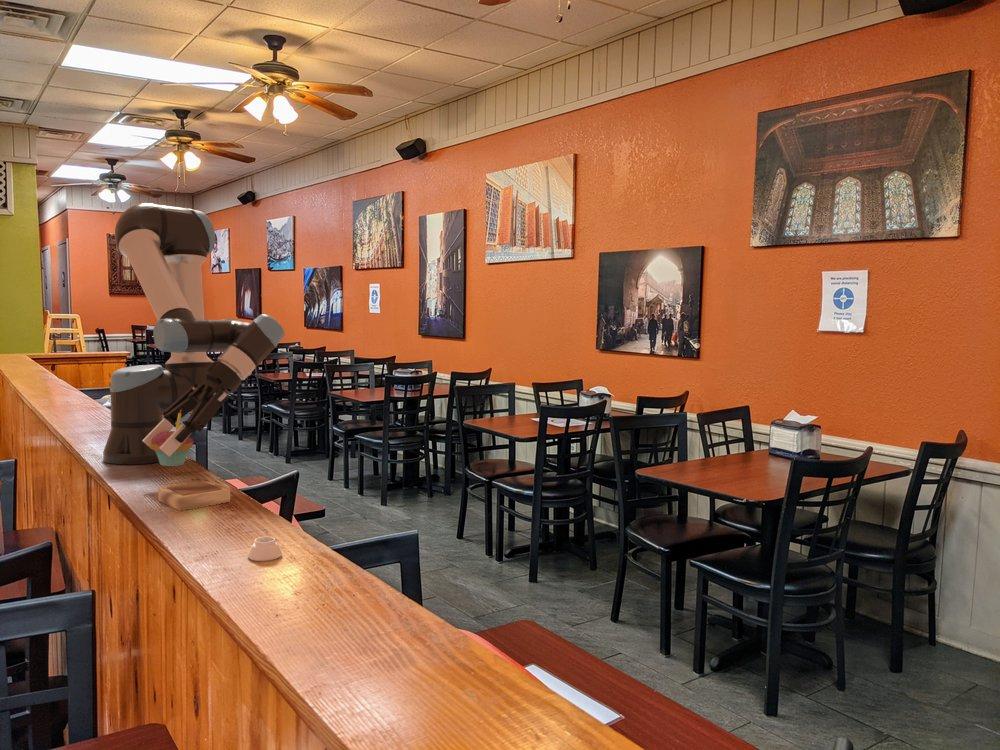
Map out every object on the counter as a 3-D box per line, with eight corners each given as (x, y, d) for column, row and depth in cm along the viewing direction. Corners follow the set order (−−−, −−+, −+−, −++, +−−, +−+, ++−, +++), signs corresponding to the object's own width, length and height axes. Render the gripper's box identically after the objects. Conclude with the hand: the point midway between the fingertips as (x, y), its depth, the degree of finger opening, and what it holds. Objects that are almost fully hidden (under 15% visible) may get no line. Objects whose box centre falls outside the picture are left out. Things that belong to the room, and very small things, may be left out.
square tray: (158, 500, 144) (158, 487, 144) (207, 492, 151) (207, 480, 151) (179, 510, 137) (179, 496, 137) (230, 502, 144) (230, 488, 144)
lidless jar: (254, 552, 116) (243, 562, 111) (254, 534, 116) (243, 543, 111) (285, 553, 116) (275, 563, 111) (285, 535, 116) (275, 545, 111)
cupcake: (200, 461, 160) (201, 407, 159) (179, 469, 151) (180, 413, 150) (163, 458, 161) (164, 404, 159) (140, 466, 152) (141, 410, 151)
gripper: (263, 387, 158) (189, 469, 148) (218, 377, 173) (148, 450, 163) (241, 364, 154) (163, 446, 144) (197, 355, 168) (123, 429, 158)
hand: (155, 448), depth 153 cm, fingers closed on cupcake, 8 cm apart
